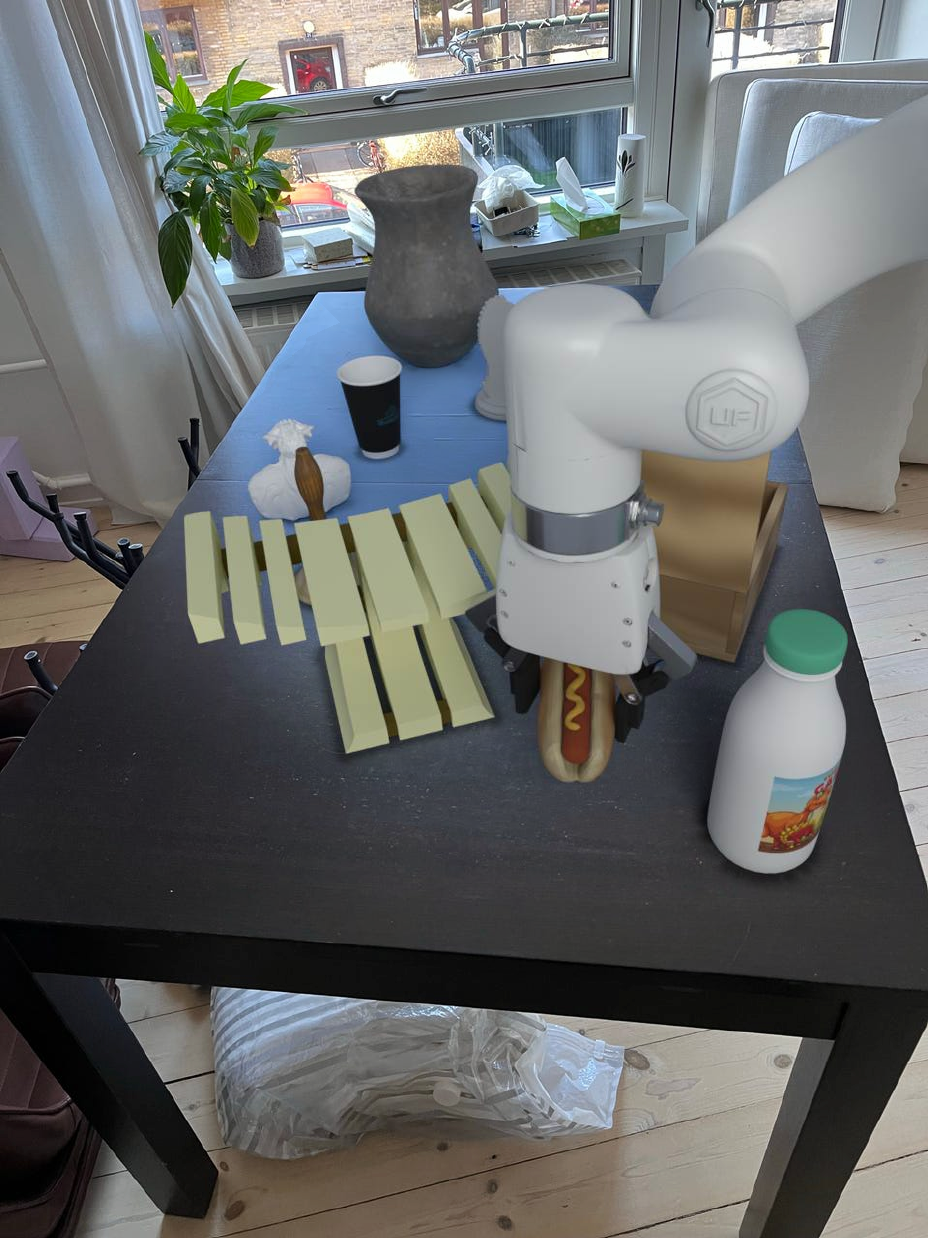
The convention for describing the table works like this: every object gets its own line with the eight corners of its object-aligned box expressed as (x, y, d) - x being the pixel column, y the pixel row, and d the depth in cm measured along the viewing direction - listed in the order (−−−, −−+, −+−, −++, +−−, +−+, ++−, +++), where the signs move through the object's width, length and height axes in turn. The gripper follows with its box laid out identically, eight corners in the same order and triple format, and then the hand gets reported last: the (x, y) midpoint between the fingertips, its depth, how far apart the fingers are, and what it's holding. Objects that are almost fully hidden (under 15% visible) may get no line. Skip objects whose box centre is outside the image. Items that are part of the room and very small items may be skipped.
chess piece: (556, 413, 118) (556, 302, 108) (485, 426, 117) (478, 314, 107) (534, 383, 126) (532, 276, 116) (467, 394, 124) (460, 287, 115)
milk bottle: (709, 872, 64) (748, 671, 51) (702, 788, 69) (736, 588, 56) (821, 882, 62) (890, 678, 50) (805, 795, 68) (863, 592, 55)
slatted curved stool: (529, 589, 90) (525, 431, 78) (586, 694, 78) (591, 527, 66) (233, 655, 85) (183, 498, 74) (245, 778, 73) (188, 613, 62)
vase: (395, 397, 125) (371, 209, 109) (357, 349, 139) (331, 176, 123) (522, 366, 130) (517, 182, 114) (473, 323, 144) (462, 153, 128)
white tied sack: (356, 509, 108) (333, 418, 107) (362, 501, 100) (337, 403, 99) (258, 531, 105) (234, 438, 105) (256, 525, 98) (230, 425, 97)
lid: (584, 345, 67) (560, 375, 64) (785, 371, 62) (770, 405, 58) (582, 551, 80) (561, 584, 77) (748, 587, 75) (733, 625, 71)
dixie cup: (358, 433, 118) (346, 354, 110) (416, 434, 116) (407, 355, 109) (343, 464, 112) (328, 383, 105) (404, 466, 110) (394, 383, 103)
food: (618, 799, 59) (620, 748, 55) (534, 796, 59) (532, 746, 56) (613, 656, 69) (615, 607, 66) (542, 655, 70) (540, 607, 67)
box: (638, 520, 98) (643, 458, 93) (776, 548, 92) (789, 483, 87) (579, 623, 85) (580, 557, 80) (734, 663, 80) (746, 594, 75)
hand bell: (345, 615, 89) (318, 478, 78) (277, 597, 92) (242, 462, 81) (386, 568, 94) (364, 434, 84) (320, 552, 97) (292, 421, 87)
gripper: (738, 498, 52) (709, 711, 63) (470, 453, 58) (489, 653, 70) (705, 572, 47) (680, 788, 58) (417, 513, 53) (446, 718, 65)
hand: (576, 713), depth 64 cm, fingers closed on food, 6 cm apart
